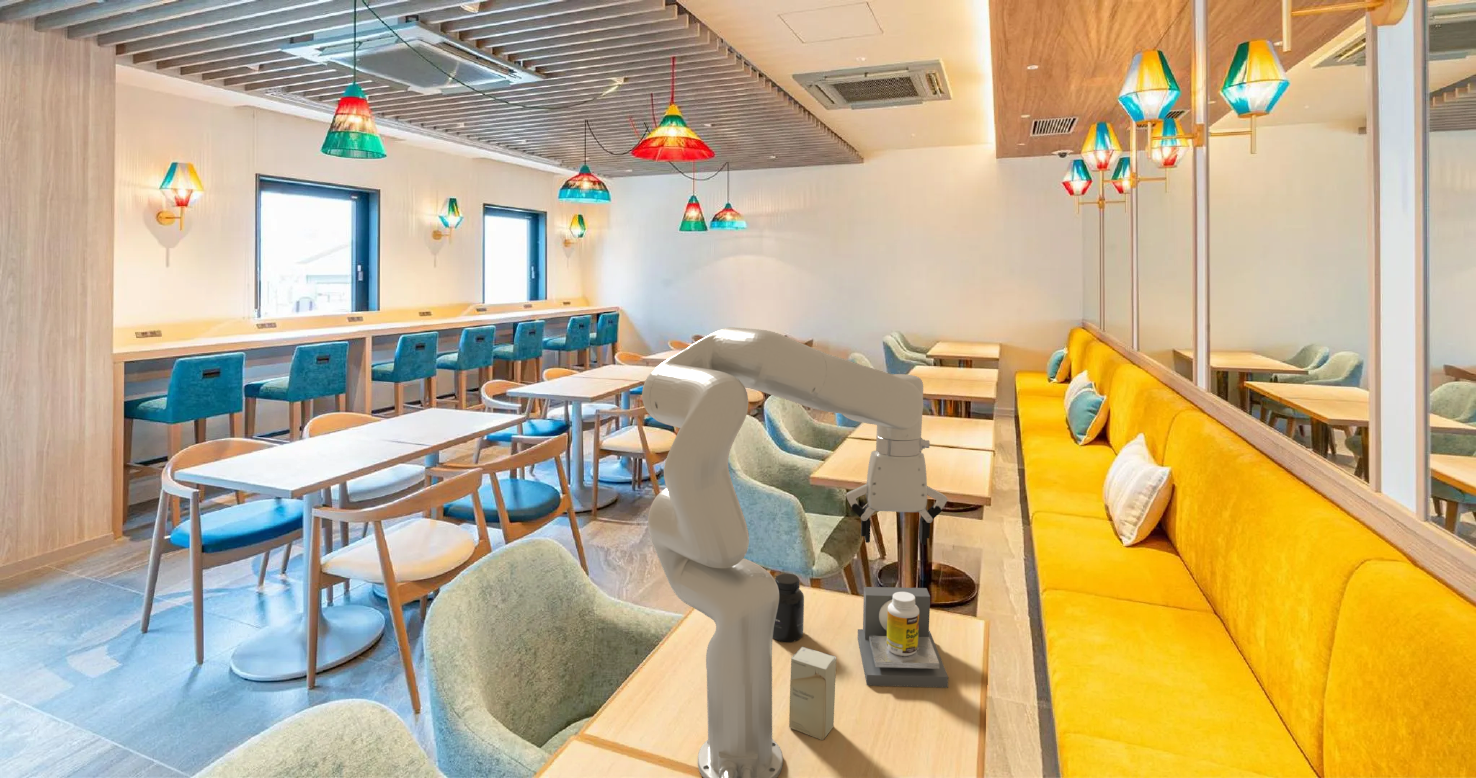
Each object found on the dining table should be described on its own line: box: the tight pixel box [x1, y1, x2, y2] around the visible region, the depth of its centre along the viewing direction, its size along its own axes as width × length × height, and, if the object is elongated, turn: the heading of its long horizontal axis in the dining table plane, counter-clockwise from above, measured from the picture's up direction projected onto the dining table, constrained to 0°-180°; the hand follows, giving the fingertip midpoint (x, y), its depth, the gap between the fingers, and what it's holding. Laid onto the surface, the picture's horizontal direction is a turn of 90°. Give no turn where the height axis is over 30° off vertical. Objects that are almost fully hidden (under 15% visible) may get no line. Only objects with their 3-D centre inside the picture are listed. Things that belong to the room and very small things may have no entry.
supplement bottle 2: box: [887, 592, 919, 656], centre depth 128 cm, size 6×6×10 cm
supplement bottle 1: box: [773, 573, 805, 643], centre depth 142 cm, size 7×7×12 cm
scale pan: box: [869, 636, 939, 669], centre depth 129 cm, size 9×11×2 cm
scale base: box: [857, 586, 949, 689], centre depth 132 cm, size 16×14×11 cm
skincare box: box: [788, 646, 837, 741], centre depth 113 cm, size 6×4×12 cm
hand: (894, 540), depth 126 cm, fingers open, 9 cm apart
